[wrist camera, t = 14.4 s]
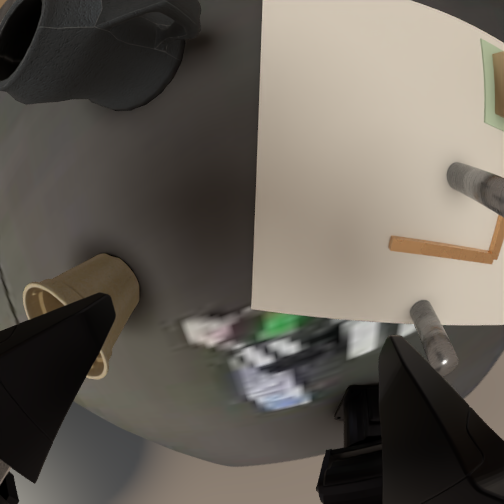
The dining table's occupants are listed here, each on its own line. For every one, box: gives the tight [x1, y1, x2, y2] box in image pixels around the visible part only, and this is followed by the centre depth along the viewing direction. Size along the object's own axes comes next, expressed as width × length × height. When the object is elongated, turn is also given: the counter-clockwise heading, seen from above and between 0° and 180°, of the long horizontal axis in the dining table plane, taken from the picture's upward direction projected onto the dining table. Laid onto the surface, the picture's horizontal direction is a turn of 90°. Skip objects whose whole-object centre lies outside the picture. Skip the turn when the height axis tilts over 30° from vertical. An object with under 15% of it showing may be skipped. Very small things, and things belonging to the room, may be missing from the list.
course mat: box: [251, 0, 504, 325], centre depth 15 cm, size 25×26×1 cm
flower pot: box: [23, 253, 139, 379], centre depth 21 cm, size 9×9×9 cm
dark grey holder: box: [0, 0, 201, 111], centre depth 10 cm, size 12×9×11 cm
